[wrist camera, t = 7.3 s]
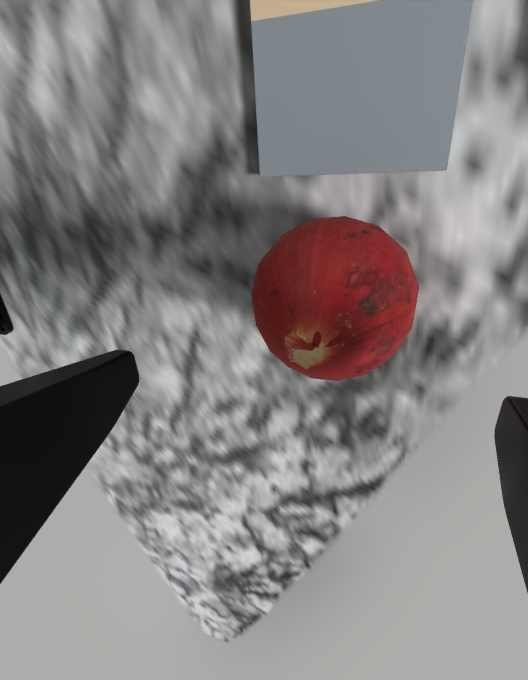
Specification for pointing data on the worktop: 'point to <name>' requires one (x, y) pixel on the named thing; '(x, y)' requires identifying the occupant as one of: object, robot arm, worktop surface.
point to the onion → (335, 298)
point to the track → (356, 84)
